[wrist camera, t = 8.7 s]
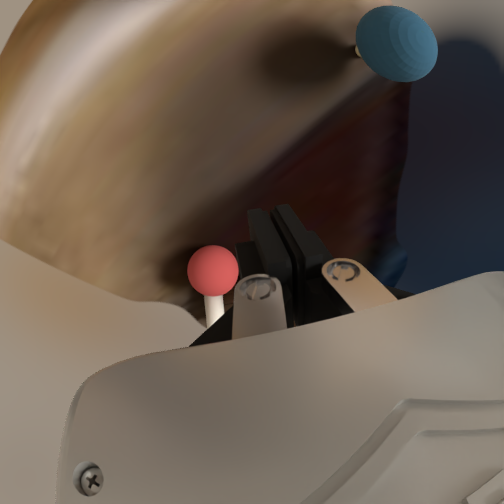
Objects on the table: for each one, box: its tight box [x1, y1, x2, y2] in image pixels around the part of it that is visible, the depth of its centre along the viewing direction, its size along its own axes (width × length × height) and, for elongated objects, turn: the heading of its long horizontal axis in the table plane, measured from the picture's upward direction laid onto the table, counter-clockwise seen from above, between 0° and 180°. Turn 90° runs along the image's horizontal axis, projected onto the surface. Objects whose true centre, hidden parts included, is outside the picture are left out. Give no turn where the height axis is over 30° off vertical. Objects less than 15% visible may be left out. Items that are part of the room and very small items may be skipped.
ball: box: [187, 245, 239, 297], centre depth 34 cm, size 6×6×6 cm
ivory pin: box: [204, 295, 224, 329], centre depth 37 cm, size 2×2×8 cm
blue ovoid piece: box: [355, 6, 438, 82], centre depth 22 cm, size 8×8×12 cm
